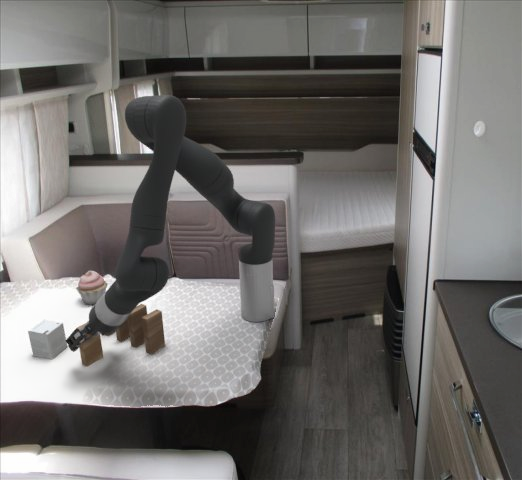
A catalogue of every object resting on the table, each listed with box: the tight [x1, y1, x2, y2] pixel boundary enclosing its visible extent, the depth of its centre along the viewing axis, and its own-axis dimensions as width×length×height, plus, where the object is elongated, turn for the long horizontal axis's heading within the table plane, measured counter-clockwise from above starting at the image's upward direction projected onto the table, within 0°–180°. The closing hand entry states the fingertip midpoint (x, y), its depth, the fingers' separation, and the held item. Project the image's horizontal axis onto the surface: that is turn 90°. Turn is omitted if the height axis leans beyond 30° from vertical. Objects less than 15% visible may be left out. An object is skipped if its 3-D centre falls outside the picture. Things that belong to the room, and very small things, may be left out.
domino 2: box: [115, 319, 130, 343], centre depth 135 cm, size 2×5×10 cm, turn 145°
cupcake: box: [75, 270, 109, 305], centre depth 156 cm, size 9×9×10 cm
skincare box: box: [27, 319, 68, 360], centre depth 130 cm, size 6×6×7 cm
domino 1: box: [75, 322, 104, 367], centre depth 125 cm, size 2×5×10 cm, turn 145°
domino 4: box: [142, 309, 166, 356], centre depth 129 cm, size 2×5×10 cm, turn 145°
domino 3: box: [127, 303, 148, 349], centre depth 132 cm, size 2×5×10 cm, turn 145°
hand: (86, 339), depth 125 cm, fingers open, 8 cm apart
